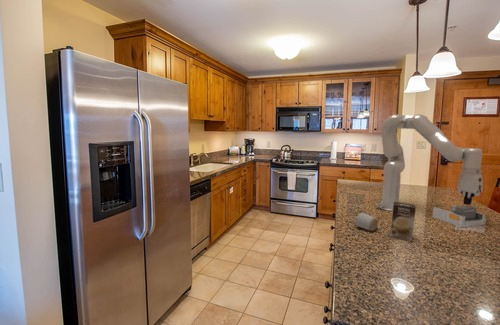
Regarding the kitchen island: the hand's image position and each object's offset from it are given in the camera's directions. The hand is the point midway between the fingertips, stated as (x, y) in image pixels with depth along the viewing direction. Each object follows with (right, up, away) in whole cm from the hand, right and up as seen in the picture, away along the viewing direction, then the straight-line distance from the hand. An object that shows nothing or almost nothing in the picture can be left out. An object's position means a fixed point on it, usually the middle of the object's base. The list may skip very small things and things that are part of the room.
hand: (467, 204), depth 142 cm
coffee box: (-47, -13, -18) cm, 52 cm away
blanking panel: (0, -10, +2) cm, 10 cm away
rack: (-1, -10, +5) cm, 12 cm away
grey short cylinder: (-58, -12, -8) cm, 60 cm away
